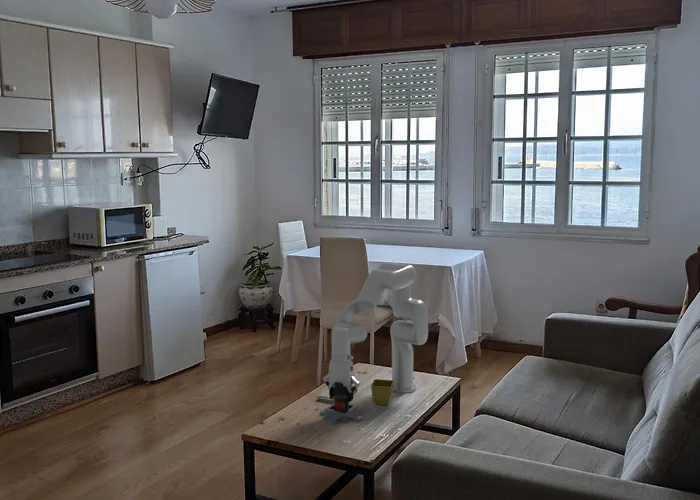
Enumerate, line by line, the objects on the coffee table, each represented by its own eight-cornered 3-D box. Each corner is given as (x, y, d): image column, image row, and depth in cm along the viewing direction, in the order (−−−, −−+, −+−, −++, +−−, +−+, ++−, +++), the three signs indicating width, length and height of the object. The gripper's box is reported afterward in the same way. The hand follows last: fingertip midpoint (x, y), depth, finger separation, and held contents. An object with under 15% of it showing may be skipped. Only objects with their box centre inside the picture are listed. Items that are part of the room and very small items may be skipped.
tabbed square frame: (333, 405, 282) (333, 396, 282) (370, 413, 274) (370, 404, 273) (310, 420, 267) (310, 410, 266) (350, 428, 258) (350, 418, 257)
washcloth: (315, 402, 288) (315, 395, 288) (334, 389, 304) (334, 382, 304) (340, 406, 283) (340, 399, 283) (358, 393, 299) (358, 386, 299)
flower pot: (391, 407, 280) (391, 386, 279) (370, 406, 282) (370, 385, 281) (393, 400, 289) (394, 380, 288) (374, 398, 291) (374, 379, 289)
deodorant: (332, 414, 272) (332, 379, 270) (346, 413, 274) (346, 378, 272) (336, 420, 267) (336, 384, 264) (350, 418, 268) (350, 382, 266)
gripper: (364, 358, 266) (364, 400, 268) (327, 352, 274) (327, 393, 277) (355, 362, 259) (355, 406, 262) (317, 356, 268) (318, 398, 270)
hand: (341, 399), depth 269 cm, fingers open, 7 cm apart
